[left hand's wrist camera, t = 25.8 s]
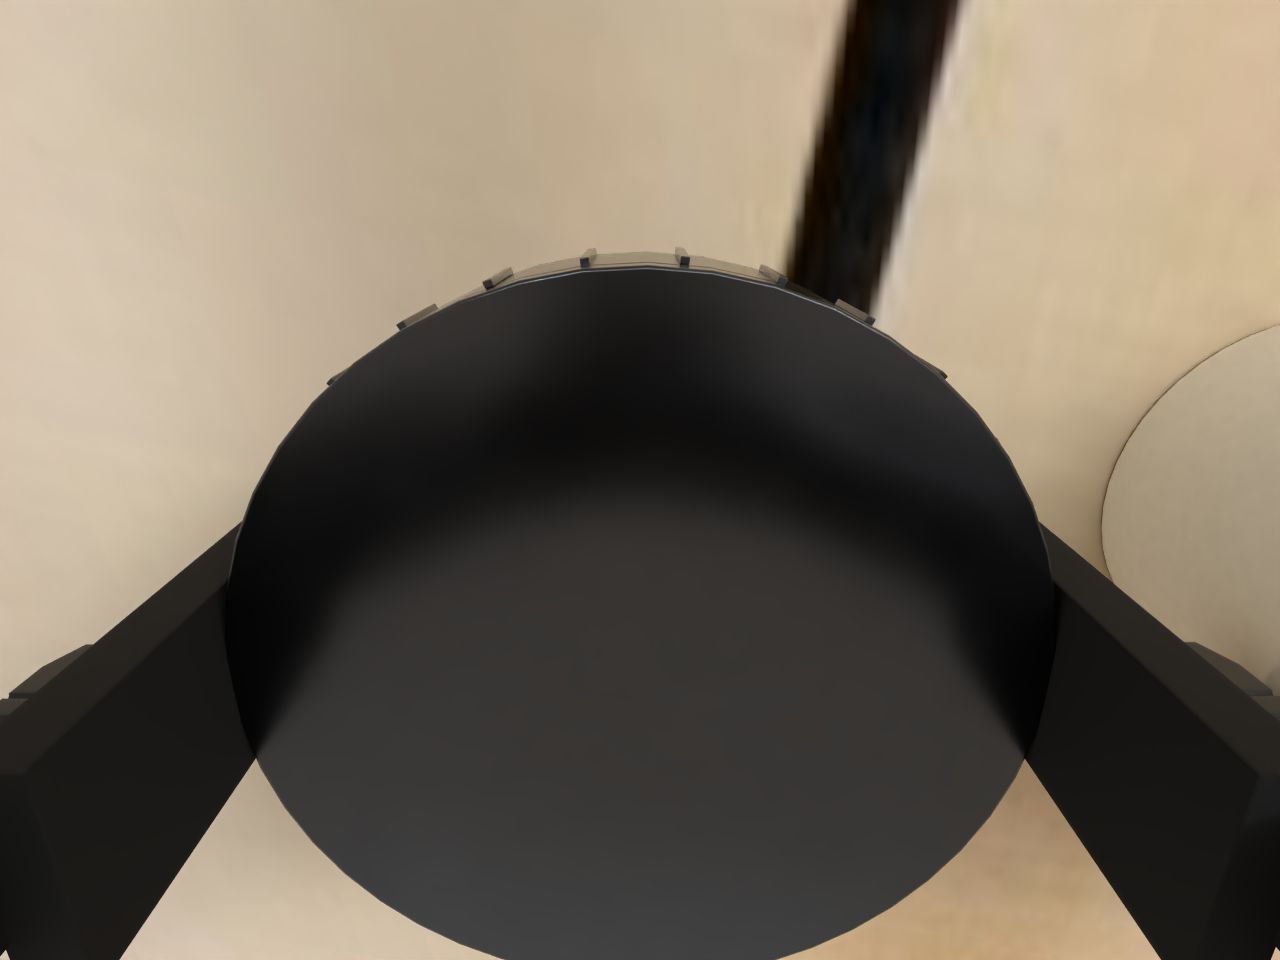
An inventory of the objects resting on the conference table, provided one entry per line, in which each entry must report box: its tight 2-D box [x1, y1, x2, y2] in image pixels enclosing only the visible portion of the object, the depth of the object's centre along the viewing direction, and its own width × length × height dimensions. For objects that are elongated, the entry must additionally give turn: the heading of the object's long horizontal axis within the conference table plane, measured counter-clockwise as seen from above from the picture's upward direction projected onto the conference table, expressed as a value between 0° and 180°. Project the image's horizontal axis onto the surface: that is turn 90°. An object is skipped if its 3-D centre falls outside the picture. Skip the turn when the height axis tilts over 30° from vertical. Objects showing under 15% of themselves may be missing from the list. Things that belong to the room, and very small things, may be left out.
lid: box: [225, 247, 1056, 960], centre depth 11 cm, size 11×11×2 cm
